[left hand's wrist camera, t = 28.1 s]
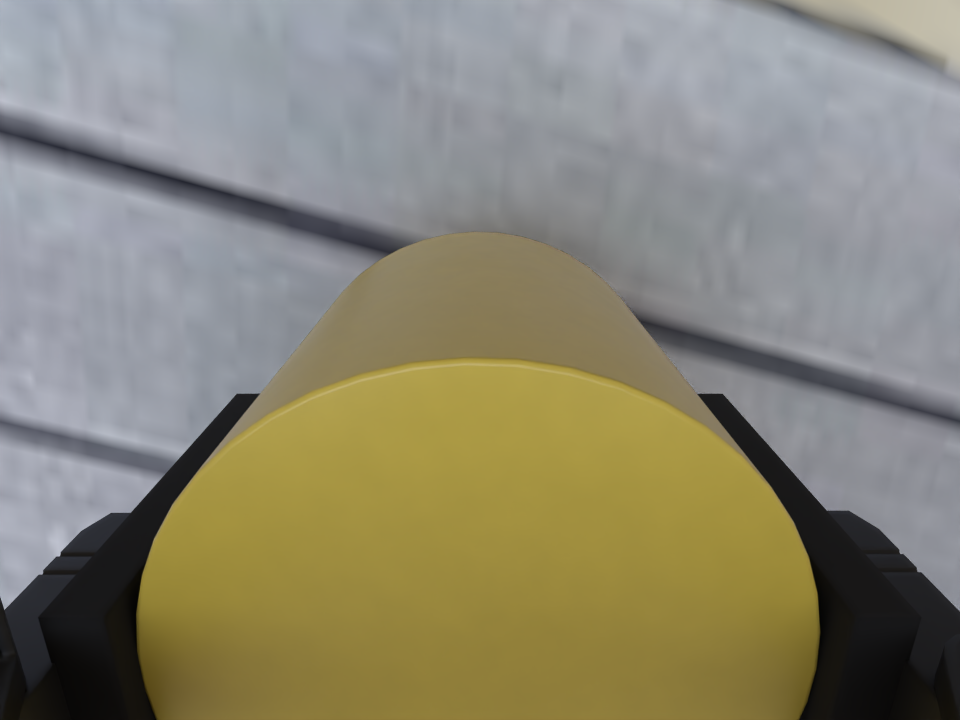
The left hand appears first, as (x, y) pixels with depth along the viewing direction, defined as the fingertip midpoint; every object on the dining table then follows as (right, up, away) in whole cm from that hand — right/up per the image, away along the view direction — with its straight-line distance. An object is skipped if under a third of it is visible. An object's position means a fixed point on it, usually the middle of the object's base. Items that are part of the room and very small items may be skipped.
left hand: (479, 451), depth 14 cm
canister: (0, +1, +2) cm, 2 cm away
